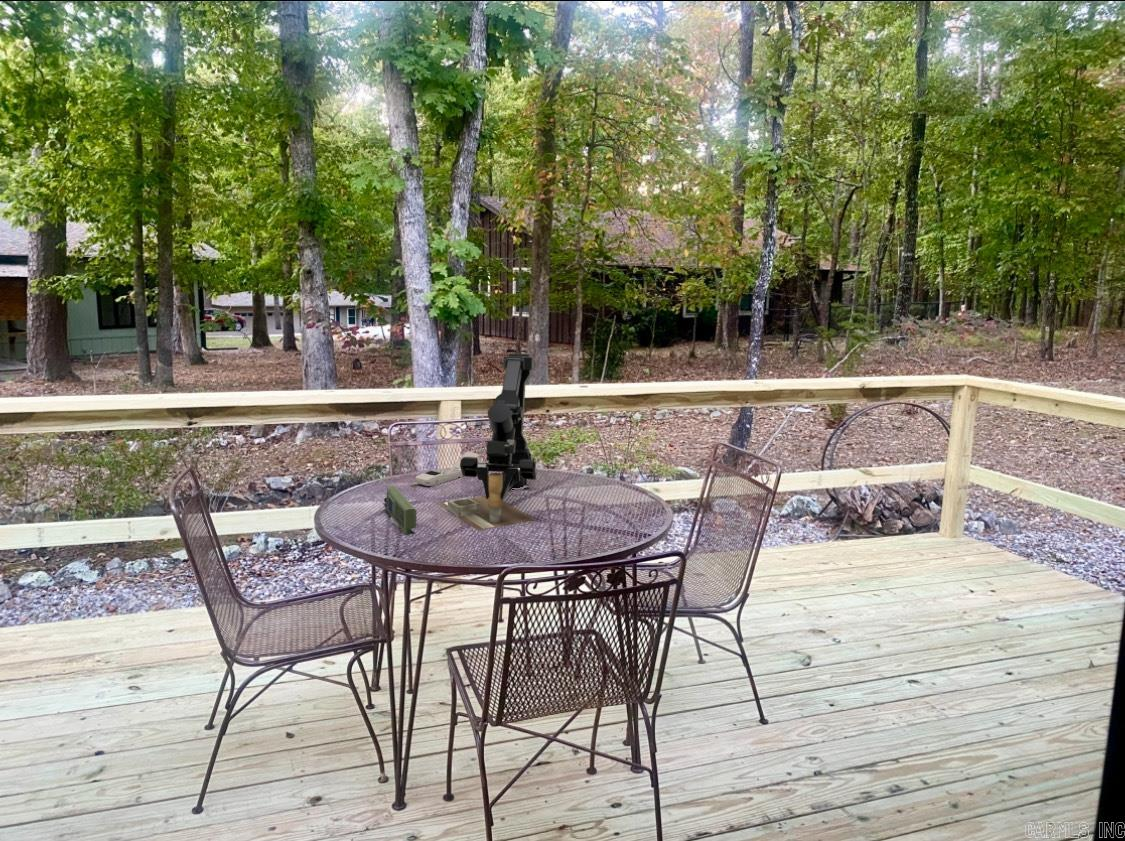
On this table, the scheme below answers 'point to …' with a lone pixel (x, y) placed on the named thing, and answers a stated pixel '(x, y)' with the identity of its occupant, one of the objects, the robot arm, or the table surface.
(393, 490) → the handheld radio
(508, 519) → the board
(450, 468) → the mobile phone
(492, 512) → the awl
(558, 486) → the table surface
